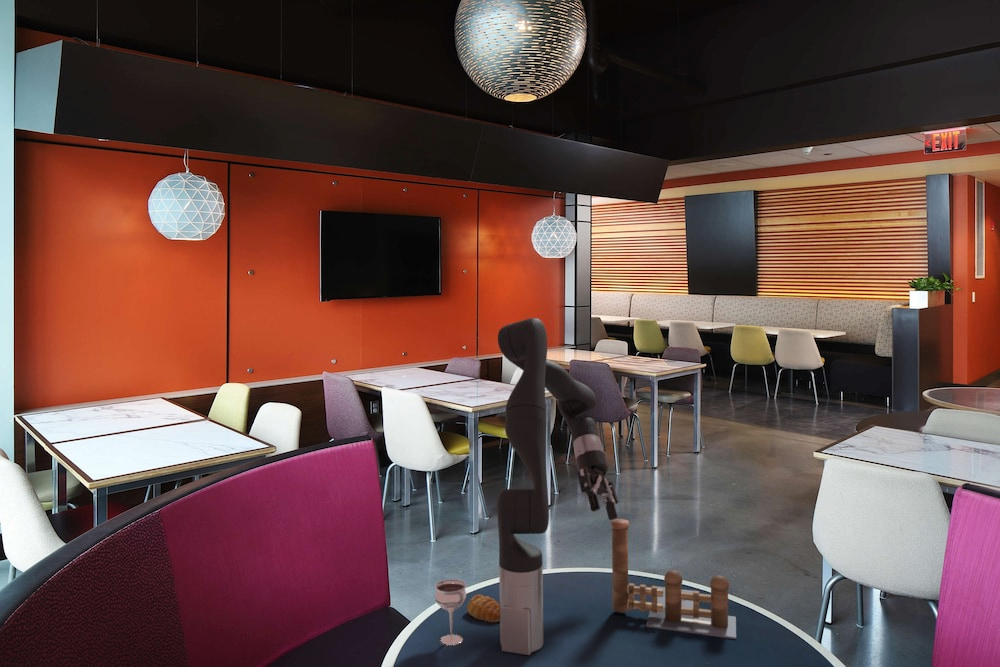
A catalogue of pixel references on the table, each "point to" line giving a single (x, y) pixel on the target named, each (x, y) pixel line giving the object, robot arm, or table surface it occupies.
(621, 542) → the wooden fence section
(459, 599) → the wineglass
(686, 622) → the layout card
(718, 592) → the fixed fence
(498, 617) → the pastry
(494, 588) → the table surface
